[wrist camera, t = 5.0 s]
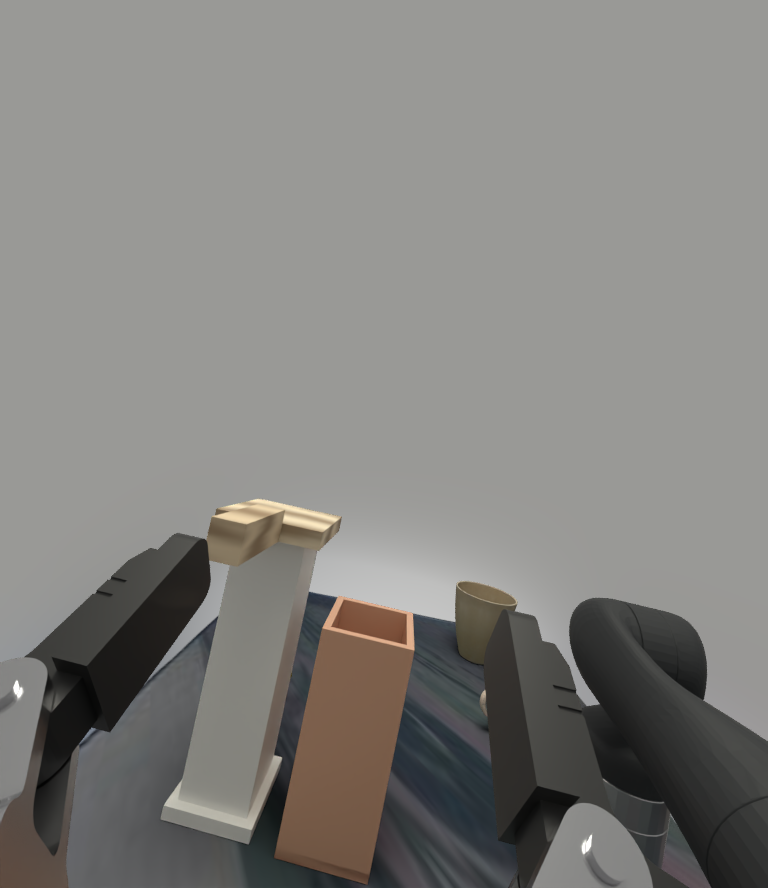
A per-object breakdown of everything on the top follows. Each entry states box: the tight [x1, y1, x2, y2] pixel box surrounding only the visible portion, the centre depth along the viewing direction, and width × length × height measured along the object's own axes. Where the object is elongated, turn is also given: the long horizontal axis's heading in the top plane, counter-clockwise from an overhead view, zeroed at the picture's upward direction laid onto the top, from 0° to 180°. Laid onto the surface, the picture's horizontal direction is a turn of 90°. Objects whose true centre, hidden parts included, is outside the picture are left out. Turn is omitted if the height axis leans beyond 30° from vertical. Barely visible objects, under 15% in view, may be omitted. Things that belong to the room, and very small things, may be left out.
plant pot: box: [455, 581, 518, 664], centre depth 94 cm, size 15×15×16 cm
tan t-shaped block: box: [206, 499, 342, 567], centre depth 42 cm, size 22×12×4 cm, turn 177°
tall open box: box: [274, 596, 414, 885], centre depth 45 cm, size 10×10×24 cm
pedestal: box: [161, 542, 317, 845], centre depth 46 cm, size 10×10×32 cm
